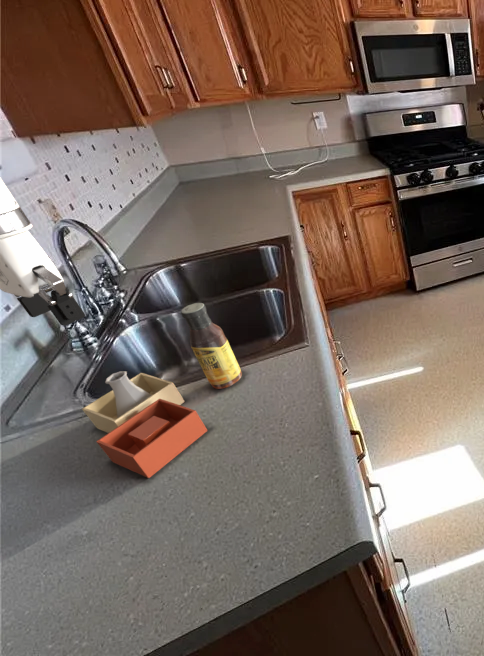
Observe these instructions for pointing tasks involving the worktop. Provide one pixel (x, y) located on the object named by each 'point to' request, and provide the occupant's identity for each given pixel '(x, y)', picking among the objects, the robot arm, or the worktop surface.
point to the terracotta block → (149, 431)
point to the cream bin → (106, 410)
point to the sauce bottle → (211, 348)
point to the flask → (125, 392)
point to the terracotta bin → (163, 447)
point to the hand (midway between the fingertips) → (58, 316)
